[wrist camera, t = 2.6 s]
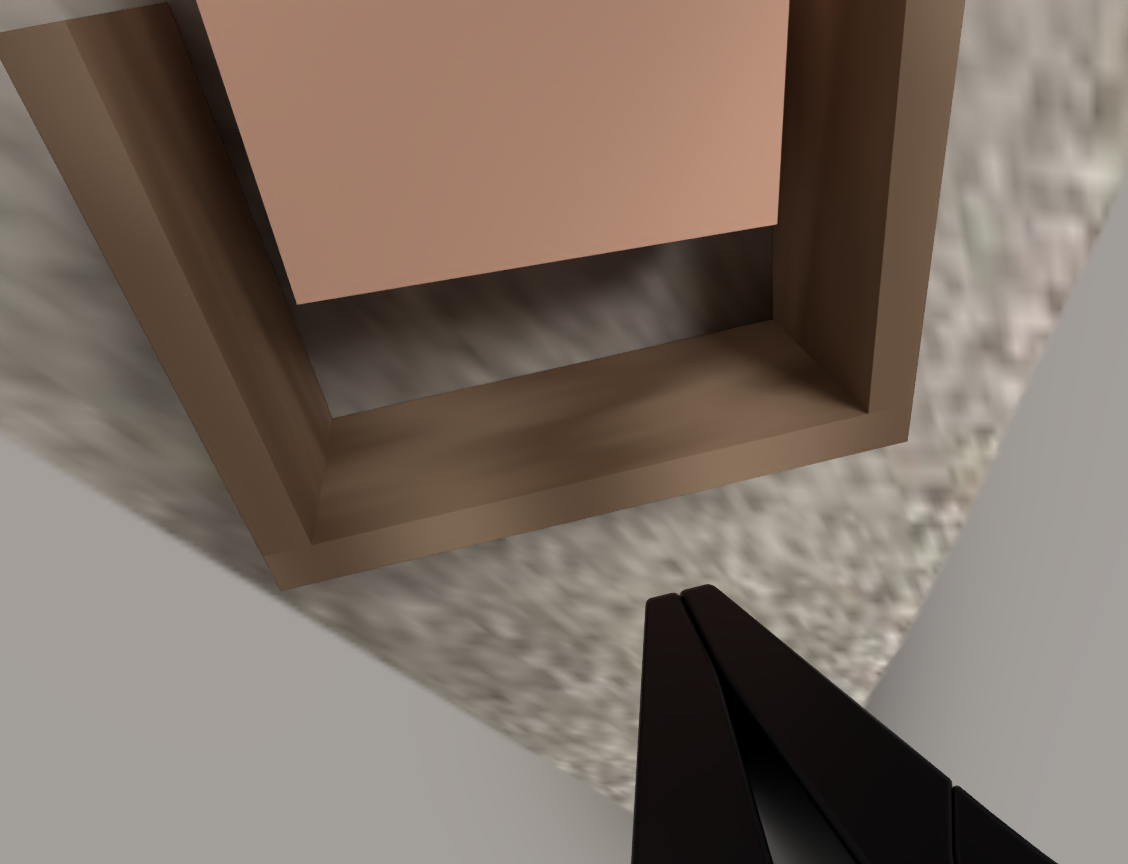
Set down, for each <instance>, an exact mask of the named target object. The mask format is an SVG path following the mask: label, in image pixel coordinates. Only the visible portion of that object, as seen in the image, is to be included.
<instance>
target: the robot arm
mask: <svg viewBox="0 0 1128 864" xmlns="http://www.w3.org/2000/svg"><path fill="white" fill-rule="evenodd" d="M632 839H633V840H632V856H631V864H1058V863H1056V862H1055V861H1053V860H1052V859H1050V858H1049V857H1048V856H1046V855H1045V854H1044V853H1042V852H1041V851H1040V850H1039V849H1037V848H1036V847H1035V846H1033V845H1032V844H1031V843H1030V842H1028V841H1027V840H1026V839H1024V838H1023V837H1022V836H1021V835H1019V834H1018V833H1017V832H1015V831H1014V830H1013V829H1012V828H1010V827H1009V826H1008V825H1007V824H1005V823H1004V822H1003V821H1001V820H1000V819H999V818H998V817H996V816H995V815H994V814H992V813H991V812H990V811H989V810H988V809H986V808H985V807H984V806H983V805H981V804H980V803H979V802H978V801H977V800H975V799H974V798H973V797H972V796H971V795H969V794H968V793H967V792H966V791H965V790H963V789H962V788H961V787H960V786H954V787H953V788H952V781H951V780H950V778H948V777H947V776H946V775H945V774H943V773H942V772H941V771H940V770H939V769H937V768H936V767H935V766H934V765H932V764H931V763H930V762H928V760H926V759H925V758H924V757H923V756H921V755H920V754H919V753H918V752H917V751H915V750H914V749H913V748H911V747H910V746H909V745H908V744H907V743H905V742H904V741H903V740H902V739H901V738H899V737H898V736H897V735H896V734H895V733H893V732H892V731H891V730H890V729H888V728H887V727H886V726H885V725H884V724H882V723H881V722H880V721H879V720H877V719H876V718H875V717H874V716H873V715H871V714H870V713H869V712H868V711H867V710H865V709H864V708H863V707H862V706H860V705H859V704H858V703H857V702H856V701H854V700H853V699H852V698H851V697H849V696H848V695H847V694H846V693H845V692H843V691H842V690H841V689H840V688H838V687H837V686H836V685H835V684H834V683H832V682H831V681H830V680H829V679H827V678H826V677H825V676H824V675H823V674H821V673H820V672H819V671H818V670H816V669H815V668H814V667H813V666H812V665H810V664H809V663H808V662H807V661H805V660H804V659H803V658H802V657H801V656H799V655H798V654H797V653H796V652H794V651H793V650H792V649H791V648H790V647H788V646H787V645H786V644H785V643H783V642H782V641H781V640H780V639H779V638H777V637H776V636H775V635H774V634H772V633H771V632H770V631H769V630H768V629H766V628H765V627H764V626H763V625H761V624H760V623H759V622H758V621H757V620H755V619H754V618H753V617H752V616H750V615H749V614H748V613H747V612H746V611H744V610H743V609H742V608H741V607H740V606H738V605H737V604H736V603H735V602H733V601H732V600H731V599H730V598H729V597H727V596H726V595H725V594H724V593H722V592H721V591H720V590H719V589H718V588H716V587H715V586H713V585H710V584H706V585H702V586H698V587H693V588H689V589H685V590H683V591H682V592H681V593H680V595H678V594H677V593H669V594H665V595H661V596H657V597H653V598H650V599H648V600H647V602H646V607H645V623H644V641H643V659H642V677H641V695H640V713H639V731H638V749H637V766H636V784H635V802H634V820H633V838H632Z"/></svg>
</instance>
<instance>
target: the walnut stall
mask: <svg viewBox="0 0 1128 864" xmlns="http://www.w3.org/2000/svg"><path fill="white" fill-rule="evenodd" d="M964 6H965V0H789V16H788V34H787V52H786V71H785V89H784V108H783V126H782V144H781V163H780V181H779V199H778V218H777V224H776V225H773V319H772V320H768V321H763V322H759V323H755V324H750V325H746V326H741V327H737V328H732V329H728V330H724V331H719V332H715V333H710V334H706V335H701V336H697V337H693V338H688V339H684V340H679V341H675V342H670V343H666V344H661V345H657V346H653V347H648V348H644V349H639V350H635V351H630V352H626V353H622V354H617V355H613V356H608V357H604V358H599V359H595V360H590V361H586V362H582V363H577V364H573V365H568V366H564V367H559V368H555V369H551V370H546V371H542V372H537V373H533V374H528V375H524V376H520V377H515V378H511V379H506V380H502V381H497V382H493V383H488V384H484V385H480V386H475V387H471V388H466V389H462V390H457V391H453V392H449V393H444V394H440V395H435V396H431V397H426V398H422V399H418V400H413V401H409V402H404V403H400V404H395V405H391V406H386V407H382V408H378V409H373V410H369V411H364V412H360V413H355V414H351V415H347V416H342V417H338V418H333V419H332V416H331V414H330V411H329V409H328V406H327V403H326V401H325V398H324V396H323V393H322V391H321V388H320V386H319V383H318V381H317V378H316V376H315V373H314V371H313V368H312V366H311V363H310V361H309V358H308V356H307V353H306V351H305V348H304V346H303V343H302V341H301V338H300V336H299V333H298V330H297V328H296V325H295V323H294V320H293V318H292V315H291V313H290V310H289V308H288V305H287V303H286V300H285V298H284V295H283V293H282V290H281V288H280V285H279V283H278V280H277V278H276V275H275V273H274V270H273V268H272V265H271V263H270V260H269V258H268V255H267V252H266V250H265V247H264V245H263V242H262V240H261V237H260V235H259V232H258V230H257V227H256V225H255V222H254V220H253V217H252V215H251V212H250V210H249V207H248V205H247V202H246V200H245V197H244V195H243V192H242V190H241V187H240V185H239V182H238V179H237V177H236V174H235V172H234V169H233V167H232V164H231V162H230V159H229V157H228V154H227V152H226V149H225V147H224V144H223V142H222V139H221V137H220V134H219V132H218V129H217V127H216V124H215V122H214V119H213V117H212V114H211V112H210V109H209V106H208V104H207V101H206V99H205V96H204V94H203V91H202V89H201V86H200V84H199V81H198V79H197V76H196V74H195V71H194V69H193V66H192V64H191V61H190V59H189V56H188V54H187V51H186V49H185V46H184V44H183V41H182V39H181V36H180V33H179V31H178V28H177V26H176V23H175V21H174V18H173V16H172V13H171V11H170V8H169V6H168V3H167V2H166V3H160V4H155V5H149V6H144V7H138V8H132V9H127V10H121V11H115V12H110V13H104V14H99V15H93V16H87V17H82V18H76V19H71V20H65V21H60V22H54V23H49V24H44V25H38V26H33V27H28V28H22V29H17V30H12V31H6V32H1V33H0V60H1V62H2V63H3V65H4V67H5V69H6V71H7V73H8V75H9V77H10V79H11V81H12V82H13V84H14V86H15V88H16V90H17V92H18V94H19V96H20V98H21V99H22V101H23V103H24V105H25V107H26V109H27V111H28V113H29V115H30V117H31V118H32V120H33V122H34V124H35V126H36V128H37V130H38V132H39V134H40V135H41V137H42V139H43V141H44V143H45V145H46V147H47V149H48V151H49V153H50V154H51V156H52V158H53V160H54V162H55V164H56V166H57V168H58V170H59V171H60V173H61V175H62V177H63V179H64V181H65V183H66V185H67V187H68V189H69V190H70V192H71V194H72V196H73V198H74V200H75V202H76V204H77V206H78V207H79V209H80V211H81V213H82V215H83V217H84V219H85V221H86V223H87V225H88V226H89V228H90V230H91V232H92V234H93V236H94V238H95V240H96V242H97V243H98V245H99V247H100V249H101V251H102V253H103V255H104V257H105V259H106V261H107V262H108V264H109V266H110V268H111V270H112V272H113V274H114V276H115V278H116V279H117V281H118V283H119V285H120V287H121V289H122V291H123V293H124V295H125V297H126V298H127V300H128V302H129V304H130V306H131V308H132V310H133V312H134V314H135V316H136V317H137V319H138V321H139V323H140V325H141V327H142V329H143V331H144V333H145V334H146V336H147V338H148V340H149V342H150V344H151V346H152V348H153V350H154V352H155V353H156V355H157V357H158V359H159V361H160V363H161V365H162V367H163V369H164V370H165V372H166V374H167V376H168V378H169V380H170V382H171V384H172V386H173V388H174V389H175V391H176V393H177V395H178V397H179V399H180V401H181V403H182V405H183V406H184V408H185V410H186V412H187V414H188V416H189V418H190V420H191V422H192V424H193V425H194V427H195V429H196V431H197V433H198V435H199V437H200V439H201V441H202V442H203V444H204V446H205V448H206V450H207V452H208V454H209V456H210V458H211V460H212V461H213V463H214V465H215V467H216V469H217V471H218V473H219V475H220V477H221V478H222V480H223V482H224V484H225V486H226V488H227V490H228V492H229V494H230V496H231V497H232V499H233V501H234V503H235V505H236V507H237V509H238V511H239V513H240V514H241V516H242V518H243V520H244V522H245V524H246V526H247V528H248V530H249V532H250V533H251V535H252V537H253V539H254V541H255V543H256V545H257V547H258V549H259V551H260V552H261V554H262V556H263V558H264V560H265V562H266V564H267V566H268V568H269V569H270V571H271V573H272V575H273V577H274V579H275V581H276V583H277V585H278V587H279V588H280V590H281V591H283V590H287V589H291V588H296V587H300V586H304V585H308V584H312V583H316V582H321V581H325V580H329V579H333V578H337V577H342V576H346V575H350V574H354V573H358V572H362V571H367V570H371V569H375V568H379V567H383V566H388V565H392V564H396V563H400V562H404V561H409V560H413V559H417V558H421V557H425V556H429V555H434V554H438V553H442V552H446V551H450V550H455V549H459V548H463V547H467V546H471V545H475V544H480V543H484V542H488V541H492V540H496V539H501V538H505V537H509V536H513V535H517V534H522V533H526V532H530V531H534V530H538V529H542V528H547V527H551V526H555V525H559V524H563V523H568V522H572V521H576V520H580V519H584V518H589V517H593V516H597V515H601V514H605V513H609V512H614V511H618V510H622V509H626V508H630V507H635V506H639V505H643V504H647V503H651V502H655V501H660V500H664V499H668V498H672V497H676V496H681V495H685V494H689V493H693V492H697V491H702V490H706V489H710V488H714V487H718V486H722V485H727V484H731V483H735V482H739V481H743V480H748V479H752V478H756V477H760V476H764V475H768V474H773V473H777V472H781V471H785V470H789V469H794V468H798V467H802V466H806V465H810V464H815V463H819V462H823V461H827V460H831V459H835V458H840V457H844V456H848V455H852V454H856V453H861V452H865V451H869V450H873V449H877V448H882V447H886V446H890V445H894V444H898V443H902V442H907V441H908V434H909V426H910V418H911V411H912V403H913V396H914V388H915V380H916V373H917V365H918V357H919V350H920V342H921V335H922V327H923V319H924V312H925V304H926V296H927V289H928V281H929V273H930V266H931V258H932V251H933V243H934V235H935V228H936V220H937V212H938V205H939V197H940V189H941V182H942V174H943V167H944V159H945V151H946V144H947V136H948V128H949V121H950V113H951V106H952V98H953V90H954V83H955V75H956V67H957V60H958V52H959V44H960V37H961V29H962V22H963V14H964Z"/></svg>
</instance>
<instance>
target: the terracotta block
mask: <svg viewBox="0 0 1128 864" xmlns="http://www.w3.org/2000/svg"><path fill="white" fill-rule="evenodd" d="M196 1H197V4H198V8H199V11H200V14H201V17H202V20H203V23H204V26H205V29H206V32H207V35H208V38H209V41H210V44H211V47H212V50H213V53H214V56H215V59H216V62H217V65H218V68H219V71H220V74H221V77H222V80H223V83H224V86H225V89H226V92H227V95H228V98H229V101H230V104H231V107H232V110H233V113H234V116H235V119H236V122H237V125H238V128H239V131H240V134H241V137H242V140H243V143H244V146H245V149H246V152H247V155H248V158H249V161H250V164H251V167H252V170H253V173H254V176H255V179H256V182H257V185H258V188H259V191H260V194H261V197H262V200H263V203H264V206H265V209H266V212H267V215H268V218H269V221H270V224H271V227H272V230H273V233H274V236H275V239H276V242H277V245H278V248H279V251H280V254H281V257H282V260H283V263H284V266H285V269H286V272H287V275H288V278H289V282H290V285H291V288H292V291H293V294H294V297H295V300H296V303H297V305H298V304H304V303H310V302H316V301H322V300H328V299H334V298H340V297H346V296H352V295H358V294H364V293H370V292H376V291H382V290H388V289H394V288H400V287H406V286H412V285H418V284H424V283H430V282H435V281H441V280H447V279H453V278H459V277H465V276H471V275H477V274H483V273H489V272H495V271H501V270H507V269H513V268H519V267H525V266H531V265H537V264H543V263H549V262H555V261H561V260H567V259H573V258H579V257H585V256H591V255H597V254H603V253H609V252H615V251H621V250H627V249H633V248H639V247H644V246H650V245H656V244H662V243H668V242H674V241H680V240H686V239H692V238H698V237H704V236H710V235H716V234H722V233H728V232H734V231H740V230H746V229H752V228H758V227H764V226H770V225H776V224H777V218H778V199H779V181H780V163H781V144H782V126H783V108H784V89H785V71H786V52H787V34H788V16H789V0H196Z"/></svg>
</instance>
